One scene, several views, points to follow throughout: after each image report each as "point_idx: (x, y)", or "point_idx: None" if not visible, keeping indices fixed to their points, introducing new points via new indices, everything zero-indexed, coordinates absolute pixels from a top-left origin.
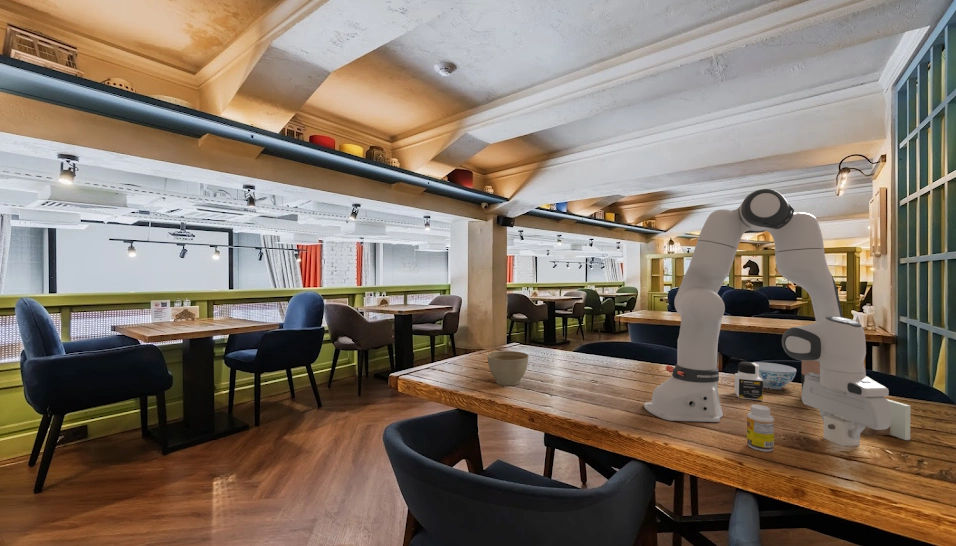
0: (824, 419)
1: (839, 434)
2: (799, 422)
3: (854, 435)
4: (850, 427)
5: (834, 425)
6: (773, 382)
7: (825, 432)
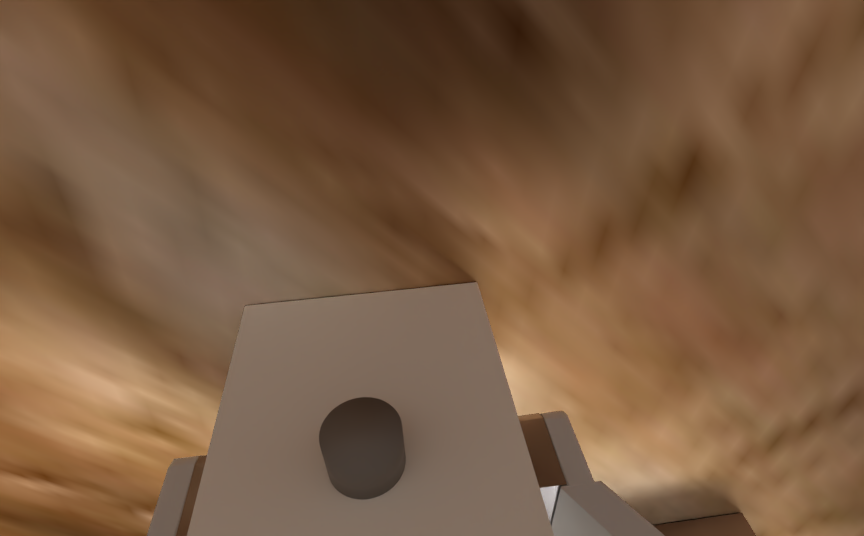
0: (528, 508)
1: (260, 404)
2: (849, 344)
3: (161, 505)
4: None
5: (335, 495)
6: None
7: (464, 341)
